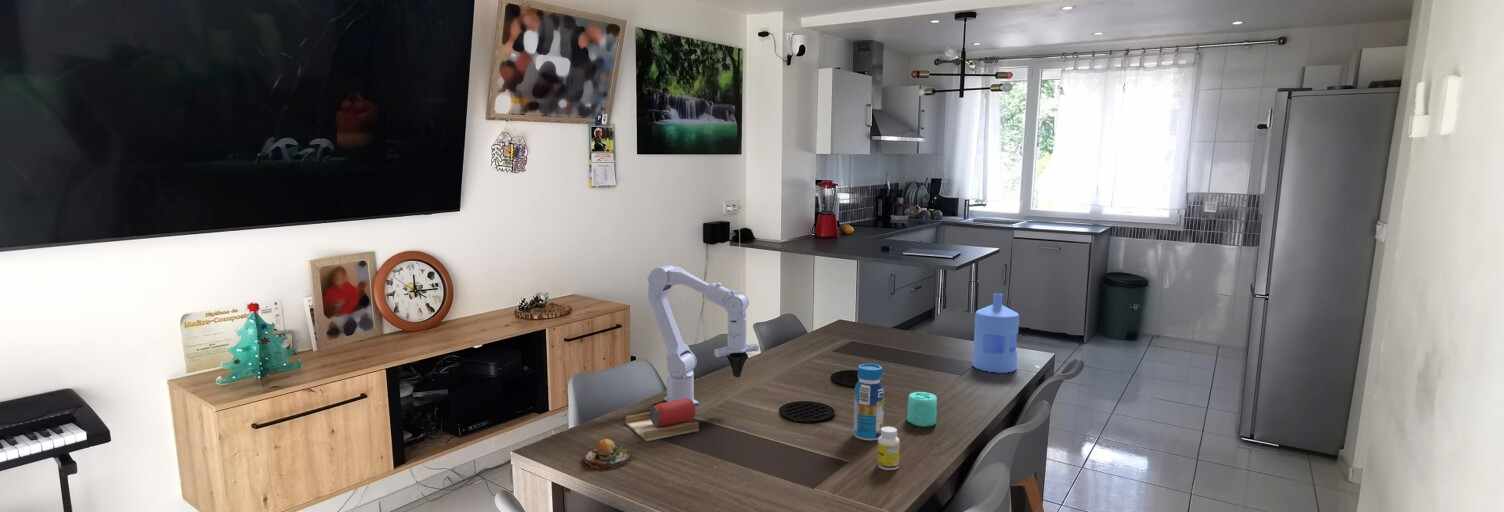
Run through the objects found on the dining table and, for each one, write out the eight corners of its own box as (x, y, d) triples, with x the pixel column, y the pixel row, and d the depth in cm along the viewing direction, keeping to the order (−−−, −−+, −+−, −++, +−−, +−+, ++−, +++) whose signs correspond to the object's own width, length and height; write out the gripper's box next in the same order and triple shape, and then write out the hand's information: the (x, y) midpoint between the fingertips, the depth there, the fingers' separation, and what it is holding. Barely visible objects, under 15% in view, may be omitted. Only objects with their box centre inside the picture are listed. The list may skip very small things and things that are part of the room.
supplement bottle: (874, 462, 192) (875, 425, 191) (895, 461, 193) (896, 425, 191) (880, 471, 187) (881, 433, 186) (901, 470, 187) (902, 432, 186)
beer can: (698, 413, 217) (661, 420, 210) (691, 424, 221) (654, 432, 215) (690, 393, 220) (653, 400, 214) (683, 404, 225) (647, 412, 218)
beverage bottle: (847, 432, 213) (849, 364, 210) (873, 429, 216) (875, 361, 213) (862, 443, 205) (863, 372, 202) (889, 439, 208) (891, 369, 205)
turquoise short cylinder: (936, 419, 225) (937, 393, 224) (935, 428, 217) (936, 401, 216) (908, 416, 227) (909, 390, 226) (907, 425, 219) (908, 398, 218)
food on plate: (640, 457, 195) (640, 430, 194) (610, 474, 185) (609, 445, 184) (605, 448, 201) (605, 421, 200) (574, 464, 191) (573, 435, 190)
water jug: (964, 364, 285) (967, 291, 281) (999, 360, 289) (1003, 289, 286) (988, 375, 270) (992, 298, 266) (1025, 371, 274) (1029, 296, 271)
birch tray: (625, 423, 219) (625, 416, 219) (675, 414, 228) (675, 407, 227) (646, 441, 206) (646, 433, 206) (698, 430, 214) (698, 423, 214)
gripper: (722, 338, 222) (722, 383, 224) (764, 333, 230) (763, 376, 231) (711, 333, 228) (711, 377, 230) (752, 328, 236) (752, 370, 237)
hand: (736, 376), depth 231 cm, fingers closed
